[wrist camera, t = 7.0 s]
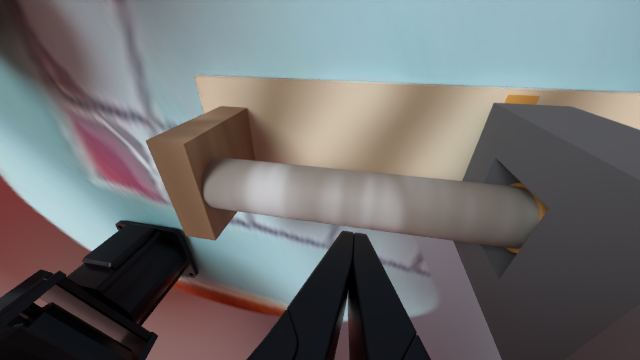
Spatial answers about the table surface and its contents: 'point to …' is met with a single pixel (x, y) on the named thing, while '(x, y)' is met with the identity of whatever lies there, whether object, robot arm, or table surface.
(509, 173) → the grey sliding block
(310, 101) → the pipe stand
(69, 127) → the table surface
